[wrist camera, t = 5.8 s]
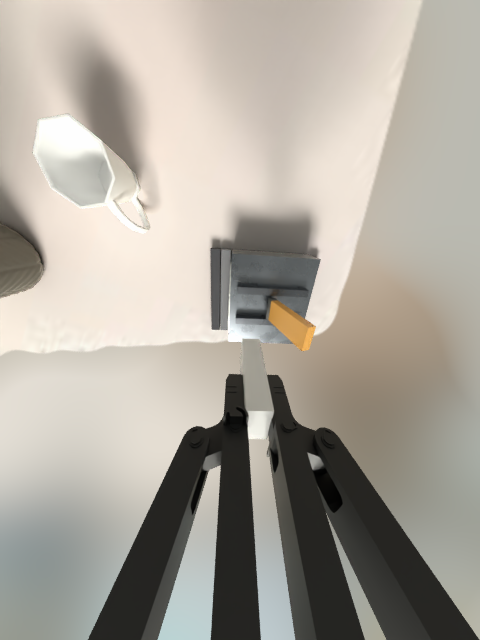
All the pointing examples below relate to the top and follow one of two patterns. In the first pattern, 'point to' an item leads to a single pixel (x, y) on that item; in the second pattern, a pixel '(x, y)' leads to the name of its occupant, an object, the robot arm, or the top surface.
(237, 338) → the box
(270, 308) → the lever
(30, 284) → the lamp
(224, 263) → the gray slab
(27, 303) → the top surface
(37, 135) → the cup
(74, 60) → the top surface
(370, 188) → the top surface
